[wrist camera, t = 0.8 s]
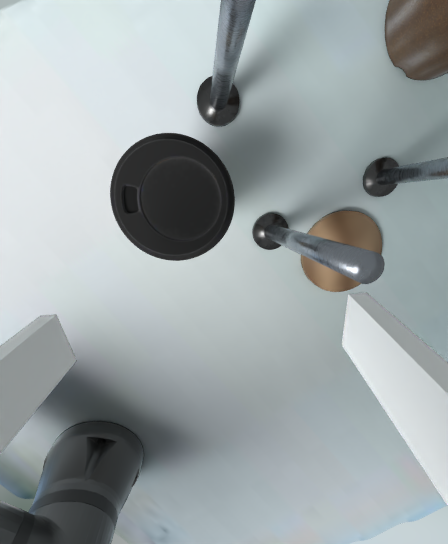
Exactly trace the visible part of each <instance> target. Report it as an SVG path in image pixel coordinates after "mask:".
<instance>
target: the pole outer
mask: <svg viewBox="0 0 448 544" xmlns="http://www.w3.org/2000/svg"><path fill="white" fill-rule="evenodd" d="M255 1H256V0H221V6H220V15H219V24H218V33H217V41H216V50H215V59H214V68H213V76H211V77H209V78H207V79H206V80H205V81H204V82H203V83H202V84H201V86H200V88H199V90H198V94H197V106H198V110H199V113H200V115H201V116H202V118H203V119H204V120H205V121H206V122H207V123H209V124H210V125H213V126H217V127H220V126H225V125H227V124H229V123H230V122H231V121H232V120H233V119H234V118H235V116H236V114H237V112H238V108H239V94H238V91H237V89H236V87H235V85H234V84H233V79H234V76H235V72H236V69H237V65H238V61H239V58H240V54H241V51H242V47H243V44H244V40H245V36H246V33H247V29H248V26H249V22H250V19H251V15H252V12H253V8H254V4H255Z"/></svg>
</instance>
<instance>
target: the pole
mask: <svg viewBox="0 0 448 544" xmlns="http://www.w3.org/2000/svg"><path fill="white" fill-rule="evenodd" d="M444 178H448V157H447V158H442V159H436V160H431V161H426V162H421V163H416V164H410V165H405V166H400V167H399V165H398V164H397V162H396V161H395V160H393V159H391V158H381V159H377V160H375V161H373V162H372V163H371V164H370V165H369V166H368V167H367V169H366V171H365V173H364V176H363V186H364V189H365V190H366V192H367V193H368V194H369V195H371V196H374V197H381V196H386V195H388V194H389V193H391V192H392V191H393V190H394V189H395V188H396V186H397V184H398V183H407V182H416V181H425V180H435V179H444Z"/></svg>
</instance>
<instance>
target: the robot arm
mask: <svg viewBox="0 0 448 544" xmlns="http://www.w3.org/2000/svg"><path fill="white" fill-rule="evenodd" d="M342 346H343V348H344V349H345V351H346V352H347V354H348V355H349V357H350V358H351V360H352V361H353V363H354V364H355V366H356V367H357V369H358V370H359V372H360V373H361V375H362V376H363V378H364V379H365V381H366V382H367V384H368V386H369V387H370V389H371V390H372V392H373V393H374V395H375V396H376V398H377V399H378V401H379V402H380V404H381V405H382V407H383V408H384V410H385V411H386V413H387V414H388V416H389V417H390V419H391V420H392V422H393V423H394V425H395V427H396V428H397V430H398V431H399V433H400V434H401V436H402V437H403V439H404V440H405V442H406V443H407V445H408V446H409V448H410V449H411V451H412V452H413V454H414V455H415V457H416V458H417V460H418V461H419V463H420V464H421V466H422V467H423V469H424V471H425V472H426V474H427V475H428V477H429V478H430V480H431V481H432V483H433V484H434V486H435V487H436V489H437V490H438V492H439V493H440V495H441V496H442V498H443V499H444V501H445V502H446V504H447V505H448V362H446V361H445V360H444V359H443V358H442V357H441V356H440V355H438V354H437V353H436V352H435V351H434V350H433V349H431V348H430V347H429V346H428V345H427V344H426V343H424V342H423V341H422V340H421V339H420V338H419V337H418V336H416V335H415V334H414V333H413V332H412V331H411V330H409V329H408V328H407V327H406V326H405V325H404V324H402V323H401V322H400V321H399V320H398V319H397V318H396V317H394V316H393V315H392V314H391V313H390V312H389V311H387V310H386V309H385V308H384V307H383V306H382V305H380V304H379V303H378V302H377V301H376V300H375V299H374V298H372V297H371V296H370V295H369V294H368V293H367V292H366V293H352V294H348V300H347V308H346V315H345V323H344V331H343V339H342ZM76 361H77V360H76V358H75V356H74V353H73V351H72V349H71V347H70V344H69V342H68V340H67V337H66V335H65V333H64V331H63V328H62V326H61V324H60V321H59V319H58V317H57V315H43V316H40V317H38V318H37V319H36V320H34V321H33V322H32V323H30V324H29V325H28V326H26V327H25V328H24V329H22V330H21V331H20V332H18V333H17V334H16V335H14V336H13V337H12V338H10V339H9V340H8V341H6V342H5V343H4V344H2V345H1V346H0V454H1V453H2V452H3V451H4V449H5V448H6V447H7V446H8V444H9V443H10V442H11V441H12V440H13V438H14V437H15V436H16V435H17V433H18V432H19V431H20V430H21V428H22V427H23V426H24V425H25V424H26V422H27V421H28V420H29V419H30V417H31V416H32V415H33V414H34V413H35V411H36V410H37V409H38V408H39V406H40V405H41V404H42V403H43V401H44V400H45V399H46V398H47V397H48V395H49V394H50V393H51V392H52V390H53V389H54V388H55V387H56V385H57V384H58V383H59V382H60V381H61V379H62V378H63V377H64V376H65V374H66V373H67V372H68V371H69V369H70V368H71V367H72V366H73V365H74V363H75V362H76ZM143 456H144V452H143V447H142V444H141V442H140V441H139V439H138V438H137V437H136V436H135V435H134V434H133V433H132V432H131V431H129V430H128V429H126V428H124V427H122V426H120V425H117V424H113V423H109V422H87V423H82V424H78V425H76V426H73V427H71V428H69V429H67V430H66V431H64V432H63V433H62V434H61V435H60V436H59V437H58V438H57V439H56V441H55V442H54V444H53V446H52V447H51V449H50V451H49V452H48V454H47V456H46V458H45V461H44V466H43V472H42V475H41V478H40V482H39V485H38V489H37V492H36V496H35V499H34V502H33V505H32V506H31V508H30V510H29V512H26V511H24V510H22V509H19V508H17V507H14V506H12V505H10V504H8V503H6V502H3V501H1V500H0V544H111V542H112V538H113V534H114V530H115V526H116V522H117V519H118V515H119V513H120V511H121V509H122V507H123V505H124V503H125V502H126V500H127V498H128V495H129V493H130V491H131V489H132V487H133V485H134V484H135V482H136V481H137V479H138V477H139V474H140V471H141V466H142V462H143Z"/></svg>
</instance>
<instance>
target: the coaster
mask: <svg viewBox="0 0 448 544" xmlns="http://www.w3.org/2000/svg"><path fill="white" fill-rule="evenodd" d="M307 234H310V235H313V236H317V237H321V238H325V239H329V240H332V241H336V242H340V243H344V244H348V245H351V246H355V247H359V248H363V249H366V250H370V251H374V252H377V253H379V254H380V255H381V252H382V238H381V234H380V230H379V228H378V226H377V225H376V224H375V222H374V221H373V220H372V219H371V218H370V217H368V216H367V215H365V214H363V213H360V212H356V211H337V212H334V213H331V214H328V215H326V216H325V217H323V218H322V219H320V220H319V221H318V222H317V223H315V224H314V225H313V227H312V228H311V229H310V230H309V232H308V233H307ZM301 264H302V268H303V270H304V273H305V274H306V276H307V277H308V279H309V280H310V281H311V282H312V283H314V284H315V285H316V286H318V287H320V288H321V289H324V290H327V291H332V292H341V291H346V290H350V289H352V288H354V287H356V286H358V285H360V284H361V283H359V282H357V281H355V280H353V279H351V278H349V277H347V276H345V275H343V274H341V273H338V272H336V271H334V270H332V269H330V268H328V267H326V266H324V265H322V264H320V263H318V262H316V261H313V260H311V259H309V258H307V257H305V256H303V255H301Z"/></svg>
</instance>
